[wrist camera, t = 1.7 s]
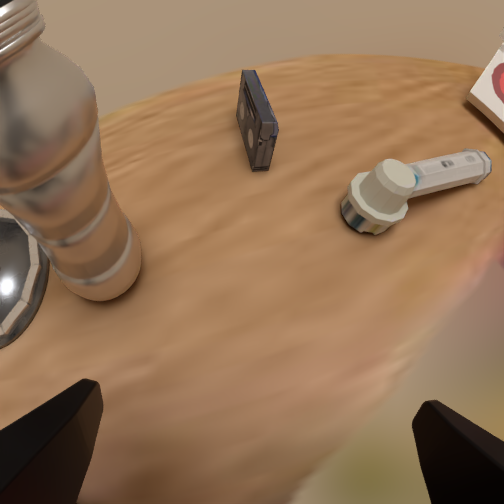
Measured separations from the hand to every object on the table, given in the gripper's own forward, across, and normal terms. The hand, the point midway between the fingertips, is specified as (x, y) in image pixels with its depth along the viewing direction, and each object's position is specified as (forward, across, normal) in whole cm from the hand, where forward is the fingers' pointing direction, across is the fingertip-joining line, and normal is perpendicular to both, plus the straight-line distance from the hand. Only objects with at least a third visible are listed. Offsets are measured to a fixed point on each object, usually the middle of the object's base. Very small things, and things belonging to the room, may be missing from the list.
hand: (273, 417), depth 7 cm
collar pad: (+14, +22, +5) cm, 26 cm away
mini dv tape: (+26, +1, -7) cm, 27 cm away
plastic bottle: (+16, +10, +4) cm, 19 cm away
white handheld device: (+25, -19, -6) cm, 32 cm away
